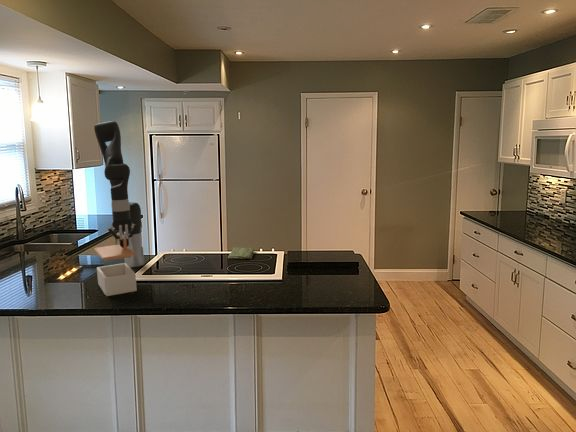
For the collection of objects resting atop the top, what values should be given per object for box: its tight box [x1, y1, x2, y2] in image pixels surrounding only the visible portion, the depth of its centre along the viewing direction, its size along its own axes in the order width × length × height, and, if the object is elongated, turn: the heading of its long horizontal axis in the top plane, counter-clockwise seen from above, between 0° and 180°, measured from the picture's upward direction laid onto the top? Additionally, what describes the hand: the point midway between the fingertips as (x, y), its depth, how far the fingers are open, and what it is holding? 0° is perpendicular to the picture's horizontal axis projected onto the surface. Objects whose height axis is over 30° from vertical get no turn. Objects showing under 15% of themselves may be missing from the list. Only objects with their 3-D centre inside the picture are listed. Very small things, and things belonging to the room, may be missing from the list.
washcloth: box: [227, 247, 255, 260], centre depth 271 cm, size 13×18×3 cm
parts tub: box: [96, 262, 138, 297], centre depth 221 cm, size 13×20×8 cm, turn 30°
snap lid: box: [94, 237, 136, 262], centre depth 219 cm, size 14×21×7 cm, turn 30°
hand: (124, 247), depth 221 cm, fingers closed on snap lid, 1 cm apart
